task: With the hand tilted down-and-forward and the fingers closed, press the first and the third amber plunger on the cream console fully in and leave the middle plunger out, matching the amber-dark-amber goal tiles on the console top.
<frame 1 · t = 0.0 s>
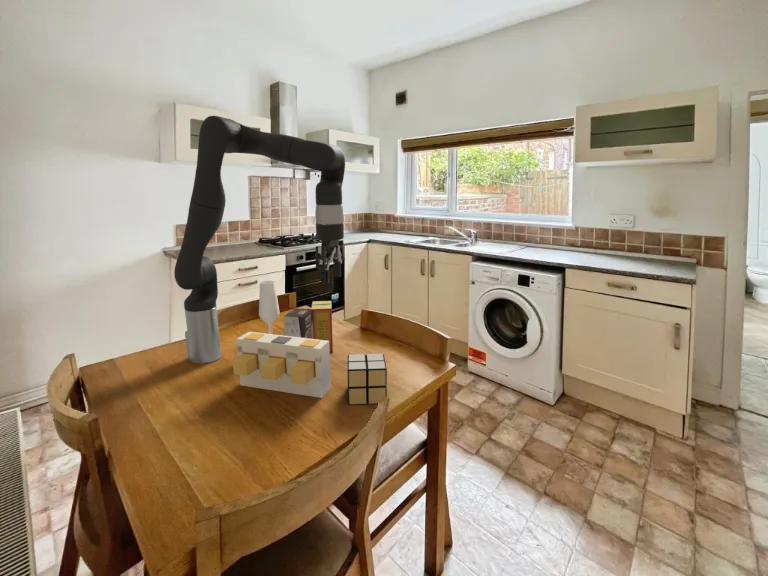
hand: (331, 279, 115), 29 cm above the table, tool pointing down, fingers open, 8 cm apart
button 2: (274, 367, 109), point 8 cm above the table, slide at 0.0 cm
console: (285, 386, 116), on the table
puzzle cube: (366, 395, 112), on the table
coffee box: (300, 359, 134), on the table
button 3: (303, 371, 107), point 8 cm above the table, slide at 0.0 cm
button 1: (246, 363, 112), point 8 cm above the table, slide at 0.0 cm
champagne flute: (271, 350, 141), on the table
baking soda box: (323, 348, 144), on the table
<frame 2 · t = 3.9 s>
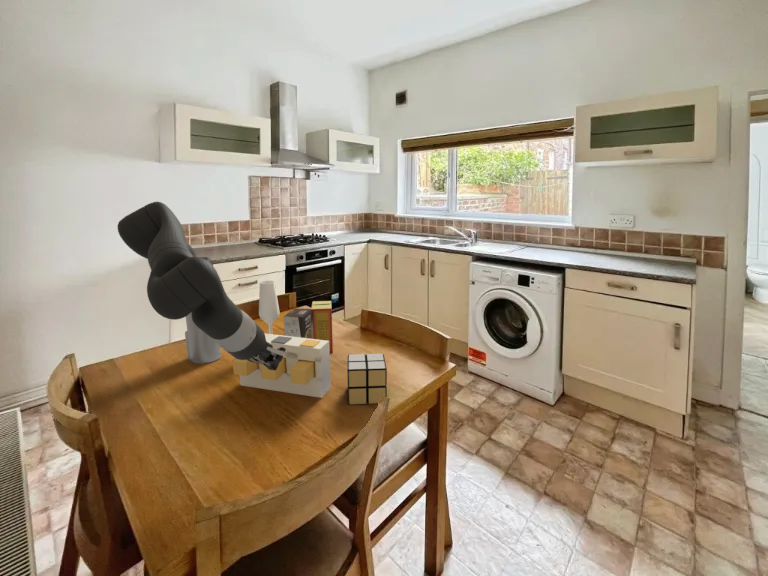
hand: (274, 366, 93), 16 cm above the table, tool tilted 45°, fingers closed
nothing on the table moved.
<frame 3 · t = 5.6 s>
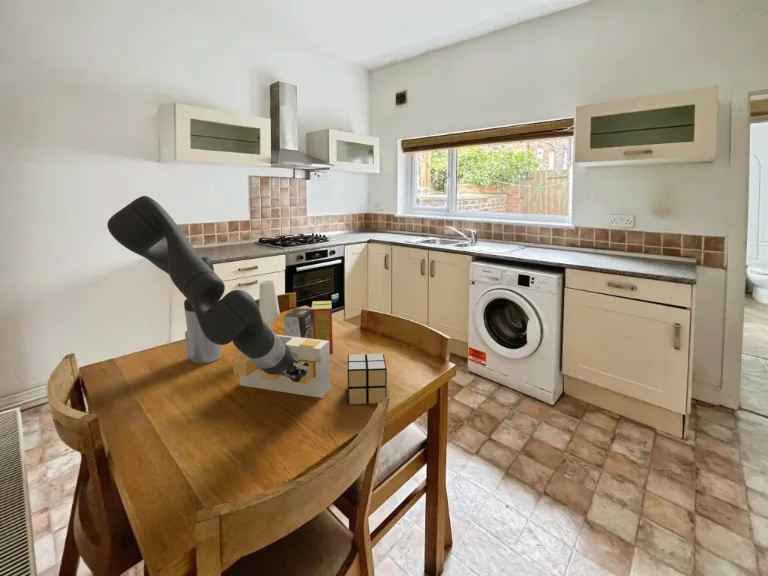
hand: (297, 378, 104), 8 cm above the table, tool tilted 45°, fingers closed
button 3: (303, 371, 107), point 8 cm above the table, slide at 0.3 cm, touching gripper
everything else where it was.
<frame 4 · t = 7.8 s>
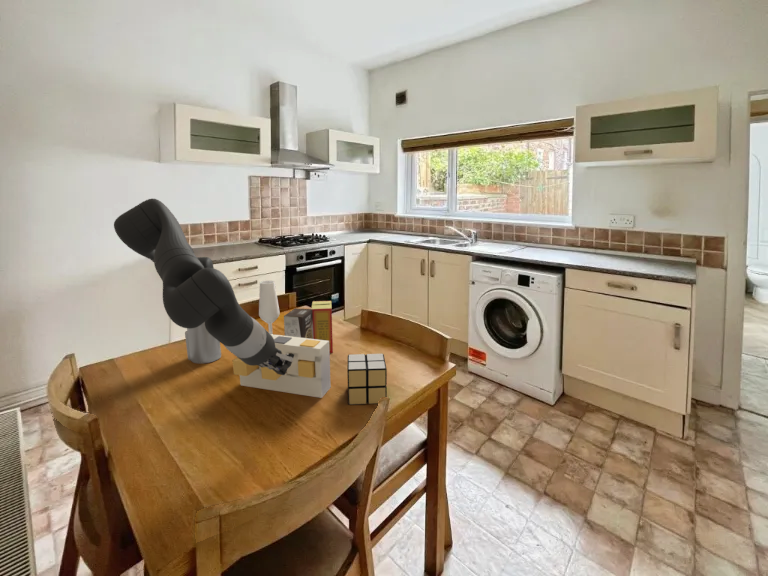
hand: (283, 370, 95), 13 cm above the table, tool tilted 45°, fingers closed
button 3: (310, 365, 111), point 8 cm above the table, slide at 4.0 cm
everything else where it was.
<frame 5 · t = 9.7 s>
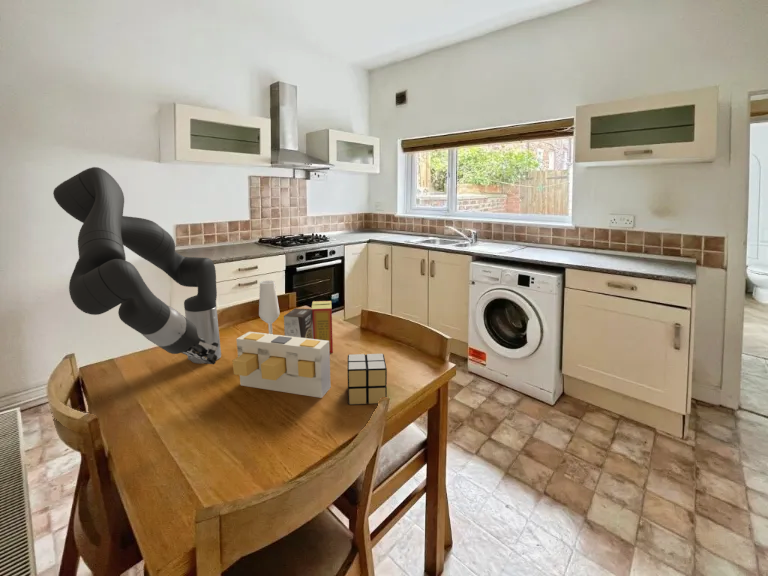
hand: (213, 360, 98), 14 cm above the table, tool tilted 45°, fingers closed
nothing on the table moved.
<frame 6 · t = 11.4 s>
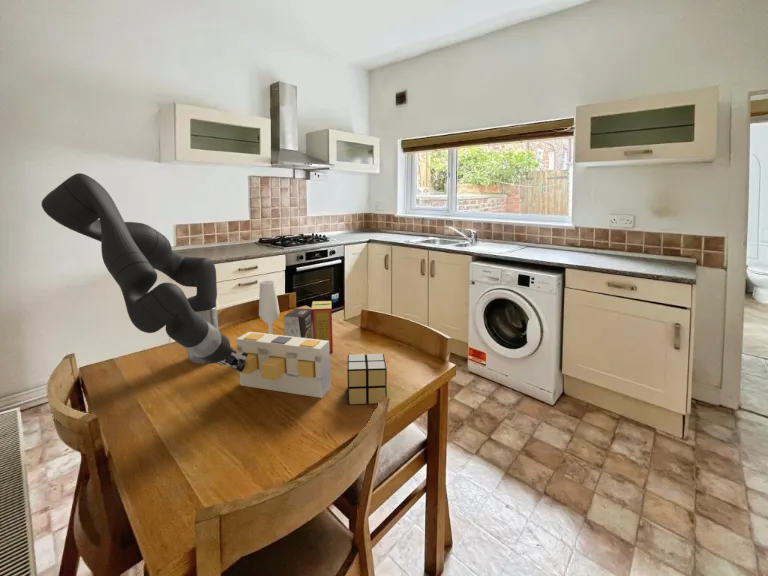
hand: (241, 368, 109), 8 cm above the table, tool tilted 45°, fingers closed
button 1: (248, 362, 113), point 8 cm above the table, slide at 1.1 cm, touching gripper
everything else where it was.
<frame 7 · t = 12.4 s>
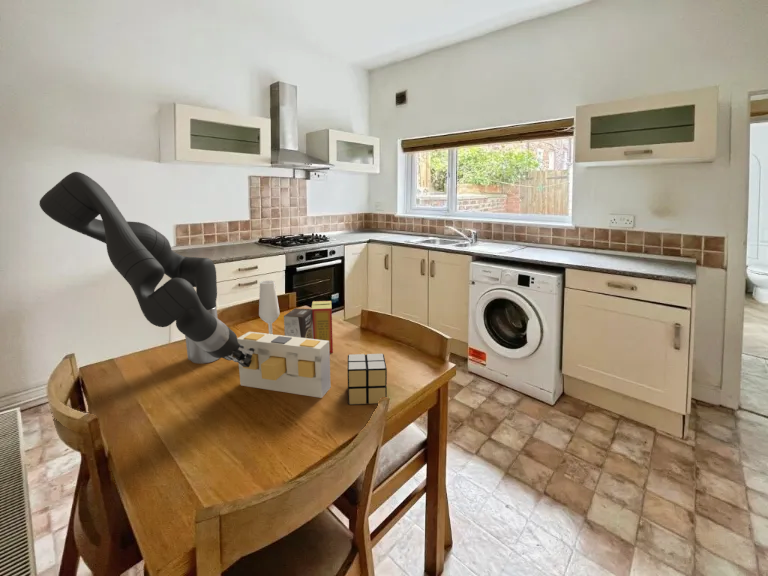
hand: (247, 363, 112), 8 cm above the table, tool tilted 45°, fingers closed
button 1: (254, 358, 115), point 8 cm above the table, slide at 4.1 cm, touching gripper
everything else where it was.
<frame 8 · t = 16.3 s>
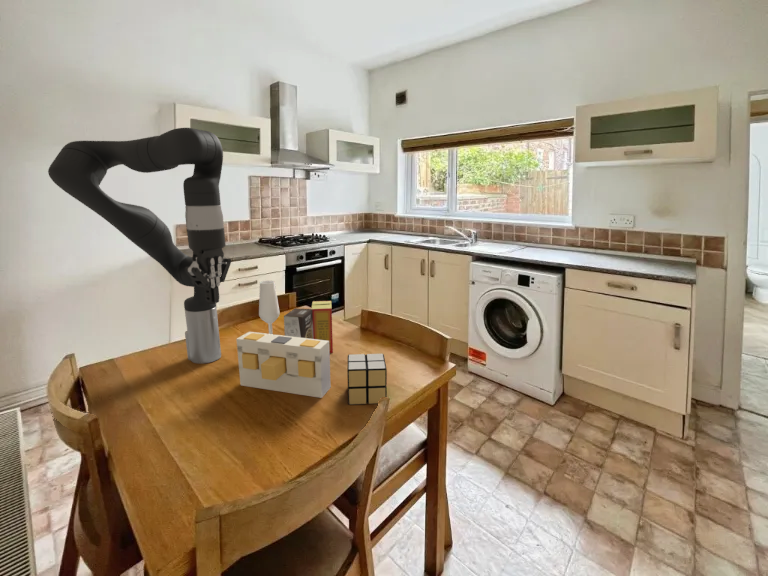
hand: (213, 302, 94), 29 cm above the table, tool pointing down, fingers closed
button 1: (254, 358, 115), point 8 cm above the table, slide at 4.1 cm
everything else where it was.
at the end: button 3 slide at 4.0 cm; button 1 slide at 4.1 cm; button 2 slide at 0.0 cm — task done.
